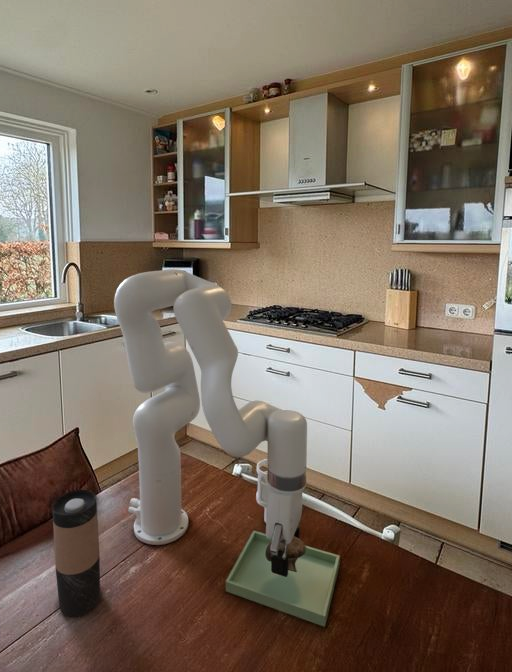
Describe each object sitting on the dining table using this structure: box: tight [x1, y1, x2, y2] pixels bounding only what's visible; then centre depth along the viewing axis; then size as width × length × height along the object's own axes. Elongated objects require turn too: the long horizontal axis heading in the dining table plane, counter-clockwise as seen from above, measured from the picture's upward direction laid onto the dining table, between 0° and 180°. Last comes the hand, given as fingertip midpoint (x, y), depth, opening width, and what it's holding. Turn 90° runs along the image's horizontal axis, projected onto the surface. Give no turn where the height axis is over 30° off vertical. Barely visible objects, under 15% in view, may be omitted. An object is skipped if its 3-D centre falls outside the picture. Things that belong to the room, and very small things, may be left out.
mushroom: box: [265, 535, 306, 572], centre depth 83 cm, size 8×8×6 cm
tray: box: [225, 530, 341, 628], centre depth 84 cm, size 19×15×2 cm
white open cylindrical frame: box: [255, 458, 270, 524], centre depth 100 cm, size 7×7×15 cm
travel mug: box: [52, 489, 101, 618], centre depth 78 cm, size 8×8×20 cm
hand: (285, 558), depth 84 cm, fingers closed on mushroom, 7 cm apart
